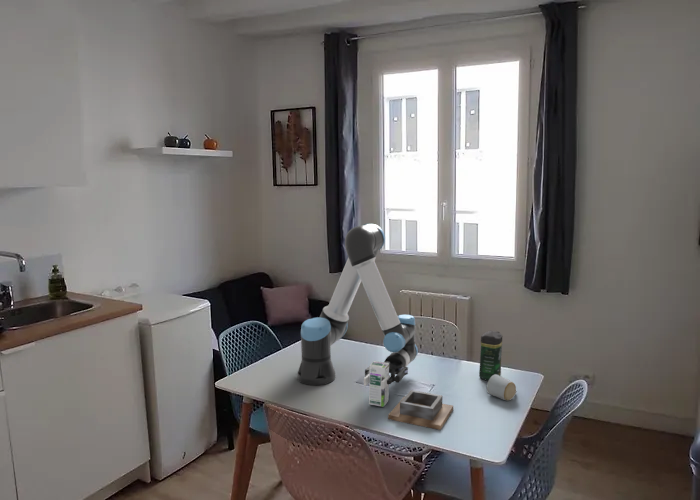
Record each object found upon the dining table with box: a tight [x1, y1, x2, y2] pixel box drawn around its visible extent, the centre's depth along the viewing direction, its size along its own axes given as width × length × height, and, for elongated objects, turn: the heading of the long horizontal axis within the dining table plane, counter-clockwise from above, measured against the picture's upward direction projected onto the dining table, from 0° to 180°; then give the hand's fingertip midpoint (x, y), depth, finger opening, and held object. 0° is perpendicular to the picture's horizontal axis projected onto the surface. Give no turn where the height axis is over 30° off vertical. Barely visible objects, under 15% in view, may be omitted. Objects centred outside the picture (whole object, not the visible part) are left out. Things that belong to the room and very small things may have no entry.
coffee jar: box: [478, 330, 503, 382], centre depth 212 cm, size 10×8×19 cm
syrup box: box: [368, 360, 390, 408], centre depth 188 cm, size 6×6×14 cm
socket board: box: [387, 389, 454, 431], centre depth 181 cm, size 18×16×6 cm
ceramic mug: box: [486, 374, 518, 401], centre depth 195 cm, size 11×8×8 cm
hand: (373, 383), depth 183 cm, fingers closed on syrup box, 6 cm apart
